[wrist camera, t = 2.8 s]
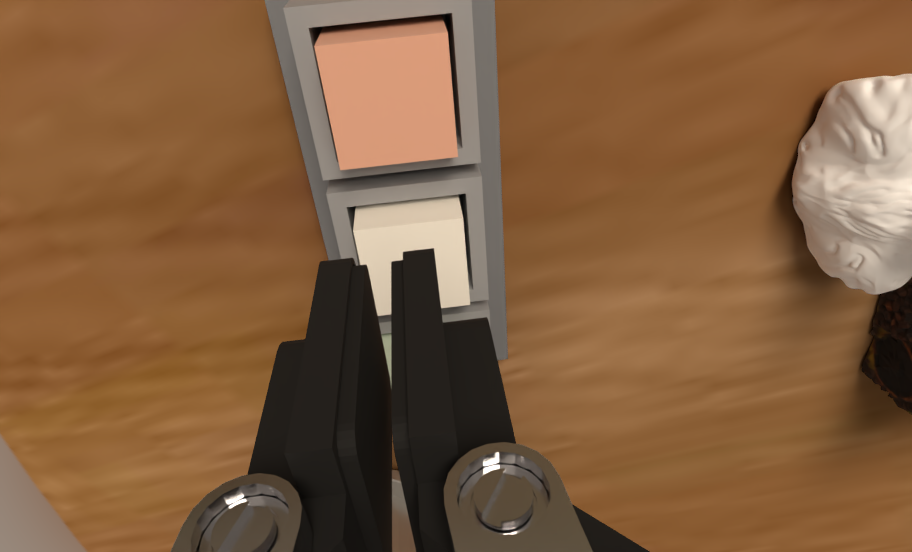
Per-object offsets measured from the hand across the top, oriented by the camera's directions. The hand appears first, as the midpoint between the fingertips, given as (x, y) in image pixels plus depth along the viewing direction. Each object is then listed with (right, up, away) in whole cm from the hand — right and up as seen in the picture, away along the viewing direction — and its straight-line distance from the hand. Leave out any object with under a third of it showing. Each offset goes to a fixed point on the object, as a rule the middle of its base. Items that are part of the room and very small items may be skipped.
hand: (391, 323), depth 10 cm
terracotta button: (-1, +9, +12) cm, 15 cm away
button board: (-1, +5, +20) cm, 20 cm away
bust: (+22, +7, +21) cm, 32 cm away
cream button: (-1, +3, +16) cm, 17 cm away
